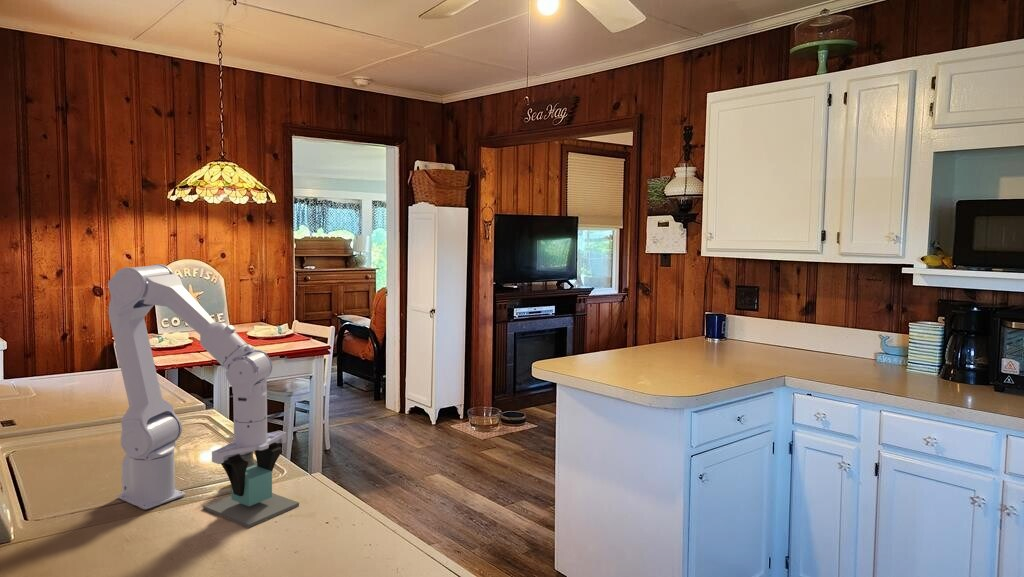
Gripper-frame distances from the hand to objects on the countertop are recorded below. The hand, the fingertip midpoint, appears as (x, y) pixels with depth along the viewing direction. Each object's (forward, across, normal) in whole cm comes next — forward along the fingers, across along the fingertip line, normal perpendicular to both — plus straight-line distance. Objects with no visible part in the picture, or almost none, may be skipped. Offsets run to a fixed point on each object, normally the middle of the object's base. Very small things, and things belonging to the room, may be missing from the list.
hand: (251, 489), depth 124 cm
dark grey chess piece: (+4, +6, +10) cm, 13 cm away
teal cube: (+2, 0, 0) cm, 2 cm away
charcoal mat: (+3, 0, 0) cm, 3 cm away
